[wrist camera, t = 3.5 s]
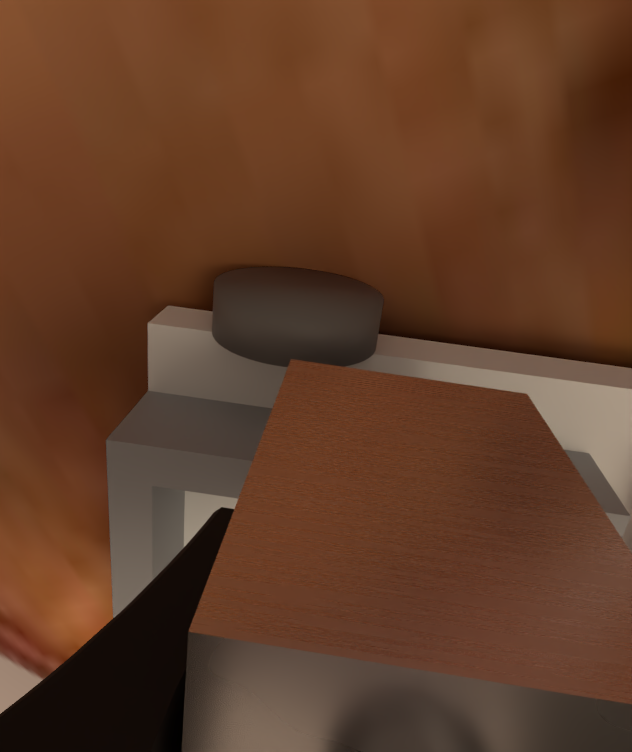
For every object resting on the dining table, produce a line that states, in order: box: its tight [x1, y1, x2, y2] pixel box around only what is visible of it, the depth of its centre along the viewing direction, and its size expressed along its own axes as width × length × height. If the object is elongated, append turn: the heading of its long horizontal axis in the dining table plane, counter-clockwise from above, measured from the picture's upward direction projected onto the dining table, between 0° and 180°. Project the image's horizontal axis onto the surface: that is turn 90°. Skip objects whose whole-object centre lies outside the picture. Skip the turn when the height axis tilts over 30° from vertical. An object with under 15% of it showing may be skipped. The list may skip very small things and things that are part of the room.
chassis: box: [106, 267, 632, 618], centre depth 16 cm, size 20×14×6 cm
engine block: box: [182, 359, 632, 752], centre depth 7 cm, size 4×4×7 cm
